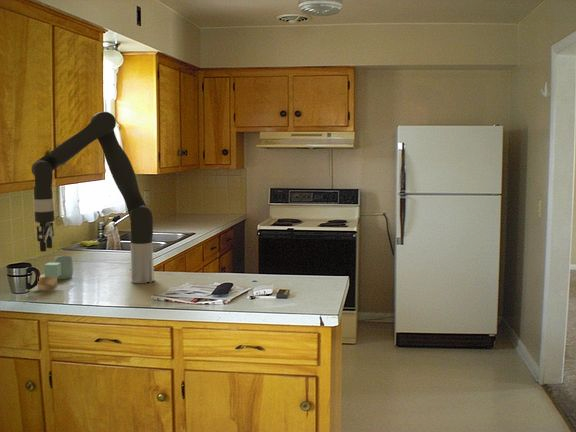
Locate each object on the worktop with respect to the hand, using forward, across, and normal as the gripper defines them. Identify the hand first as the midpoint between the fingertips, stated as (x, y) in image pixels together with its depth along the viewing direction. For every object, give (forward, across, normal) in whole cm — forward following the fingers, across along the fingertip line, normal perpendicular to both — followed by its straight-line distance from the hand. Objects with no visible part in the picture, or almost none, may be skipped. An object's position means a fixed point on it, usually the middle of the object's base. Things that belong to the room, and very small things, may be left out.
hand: (46, 249), depth 274 cm
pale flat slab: (+17, 0, -2) cm, 17 cm away
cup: (+17, +21, -1) cm, 27 cm away
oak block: (+16, 0, 0) cm, 16 cm away
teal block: (+11, 0, -2) cm, 11 cm away
